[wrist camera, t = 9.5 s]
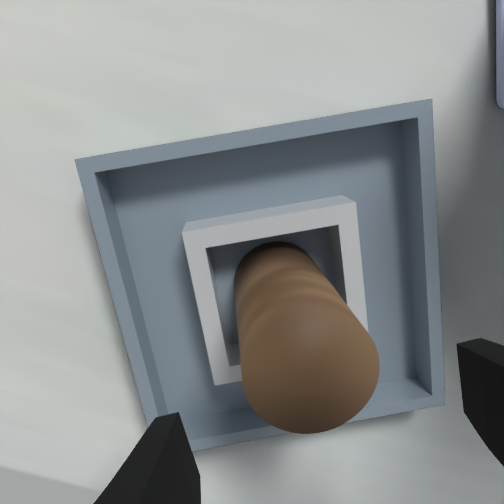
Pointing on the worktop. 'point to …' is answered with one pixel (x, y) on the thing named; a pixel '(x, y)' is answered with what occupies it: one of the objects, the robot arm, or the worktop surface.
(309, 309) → the walnut peg
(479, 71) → the worktop surface
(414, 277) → the candle dish
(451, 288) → the worktop surface
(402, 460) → the worktop surface
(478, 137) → the worktop surface
